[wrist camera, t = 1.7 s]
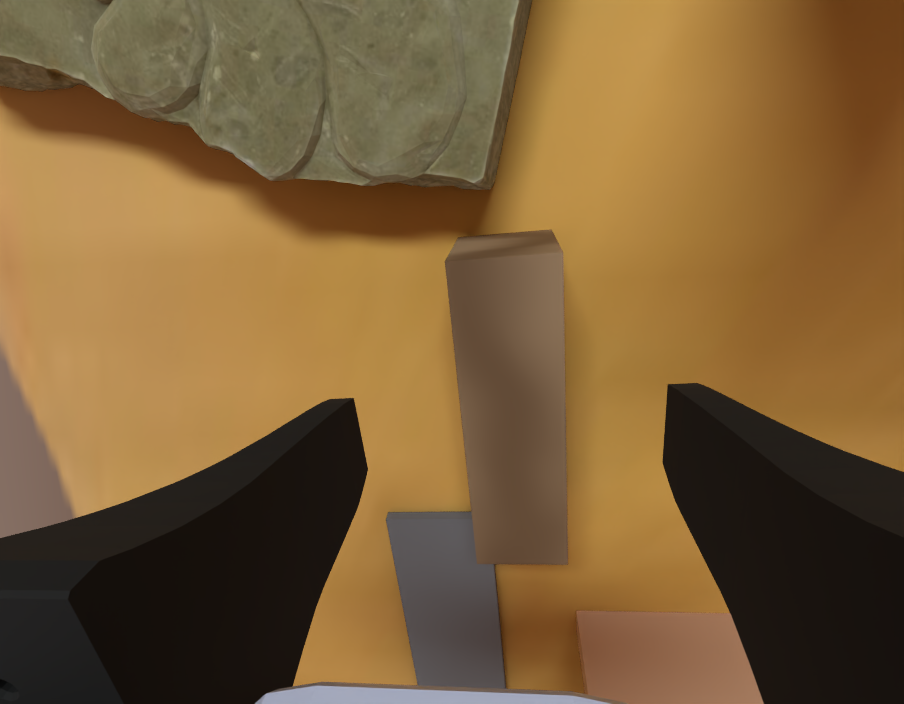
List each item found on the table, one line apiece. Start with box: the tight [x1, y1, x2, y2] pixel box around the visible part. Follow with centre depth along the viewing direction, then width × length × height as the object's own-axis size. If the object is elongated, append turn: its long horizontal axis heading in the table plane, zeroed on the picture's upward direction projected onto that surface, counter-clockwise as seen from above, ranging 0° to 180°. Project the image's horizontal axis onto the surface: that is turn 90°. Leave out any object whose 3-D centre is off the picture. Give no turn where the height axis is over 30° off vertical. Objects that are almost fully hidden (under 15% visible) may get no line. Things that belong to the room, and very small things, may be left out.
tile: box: [576, 611, 764, 704], centre depth 22 cm, size 8×2×7 cm, turn 96°
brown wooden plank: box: [445, 230, 568, 565], centre depth 19 cm, size 4×12×4 cm, turn 6°
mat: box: [386, 512, 506, 689], centre depth 26 cm, size 5×13×1 cm, turn 6°
